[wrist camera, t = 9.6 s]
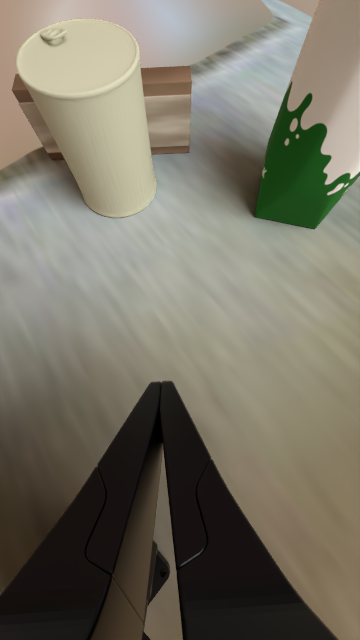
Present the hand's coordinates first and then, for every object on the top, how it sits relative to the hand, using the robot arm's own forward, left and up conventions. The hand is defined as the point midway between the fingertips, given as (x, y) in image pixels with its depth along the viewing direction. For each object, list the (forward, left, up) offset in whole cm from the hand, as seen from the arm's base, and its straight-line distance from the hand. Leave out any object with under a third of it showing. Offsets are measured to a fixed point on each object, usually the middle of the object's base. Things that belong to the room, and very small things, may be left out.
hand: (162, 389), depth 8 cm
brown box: (+17, +26, -13) cm, 33 cm away
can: (+12, +21, -13) cm, 28 cm away
